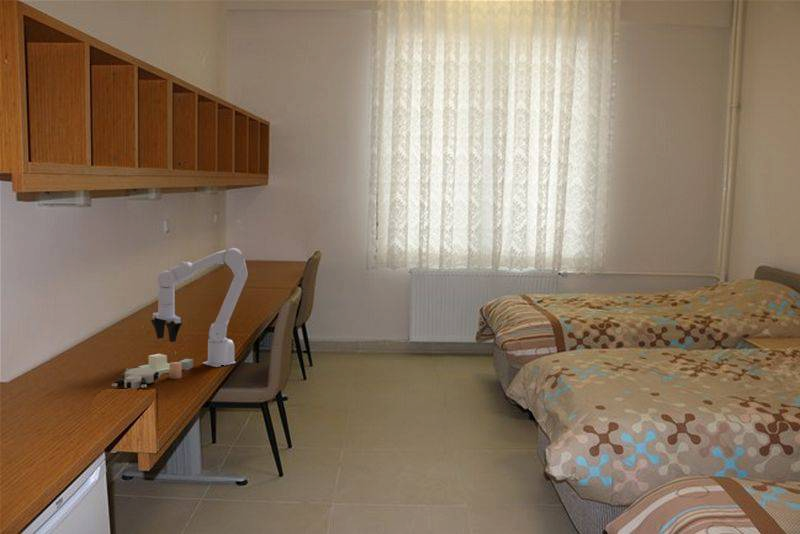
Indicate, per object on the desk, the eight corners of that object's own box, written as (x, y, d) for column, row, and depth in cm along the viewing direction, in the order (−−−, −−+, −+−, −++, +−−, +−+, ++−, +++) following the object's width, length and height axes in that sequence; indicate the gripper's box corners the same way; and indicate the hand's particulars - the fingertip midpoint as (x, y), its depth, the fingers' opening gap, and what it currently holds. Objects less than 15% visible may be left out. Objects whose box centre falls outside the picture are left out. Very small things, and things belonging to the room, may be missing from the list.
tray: (162, 365, 261) (162, 361, 261) (179, 370, 255) (179, 366, 255) (138, 370, 253) (138, 366, 253) (154, 375, 247) (154, 371, 247)
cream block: (159, 367, 257) (159, 353, 257) (166, 369, 254) (167, 355, 254) (148, 369, 254) (148, 355, 253) (156, 371, 251) (156, 357, 250)
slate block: (185, 366, 262) (185, 358, 261) (193, 367, 261) (193, 359, 261) (179, 369, 257) (179, 361, 256) (186, 370, 256) (186, 362, 256)
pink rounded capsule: (176, 375, 249) (176, 361, 248) (183, 377, 246) (183, 363, 246) (167, 377, 246) (167, 363, 245) (173, 379, 243) (173, 365, 243)
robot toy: (147, 395, 227) (164, 380, 242) (146, 382, 226) (163, 367, 241) (109, 394, 227) (128, 378, 242) (108, 380, 226) (128, 365, 241)
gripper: (145, 302, 261) (145, 338, 263) (168, 307, 253) (168, 344, 254) (162, 300, 267) (162, 335, 268) (185, 305, 258) (185, 341, 260)
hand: (166, 339), depth 262 cm, fingers open, 7 cm apart
